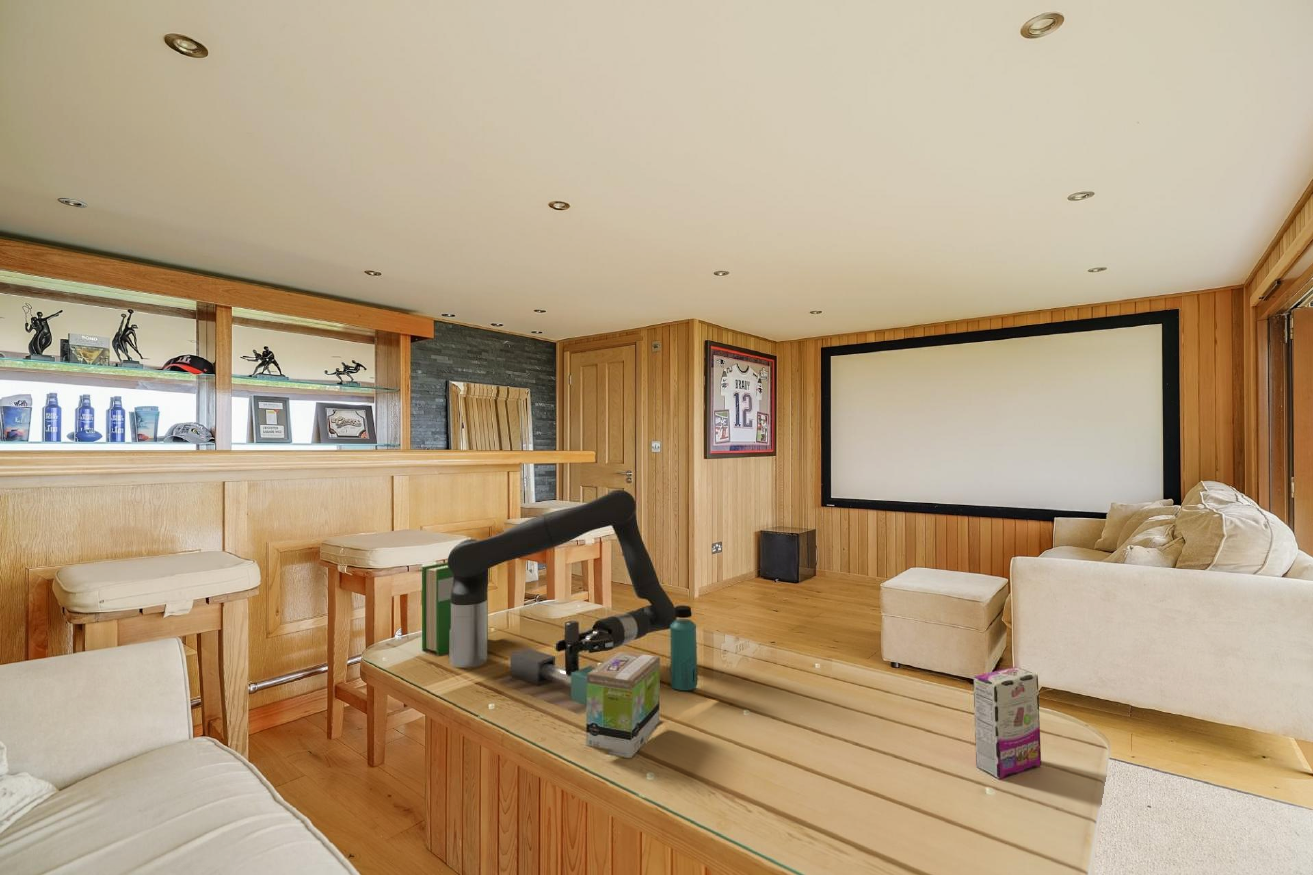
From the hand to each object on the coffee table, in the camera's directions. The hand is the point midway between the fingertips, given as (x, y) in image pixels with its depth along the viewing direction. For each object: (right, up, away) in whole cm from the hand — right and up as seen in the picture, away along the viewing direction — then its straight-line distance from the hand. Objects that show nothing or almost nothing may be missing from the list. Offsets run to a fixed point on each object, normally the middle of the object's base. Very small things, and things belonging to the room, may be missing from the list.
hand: (562, 648), depth 141 cm
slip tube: (0, -10, +3) cm, 10 cm away
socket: (+7, -11, -2) cm, 13 cm away
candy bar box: (+84, -11, -30) cm, 90 cm away
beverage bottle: (+28, -12, +5) cm, 31 cm away
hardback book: (-38, -13, +42) cm, 58 cm away
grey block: (-9, -11, +11) cm, 18 cm away
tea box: (+15, -12, -18) cm, 26 cm away
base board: (-2, -12, +5) cm, 13 cm away
